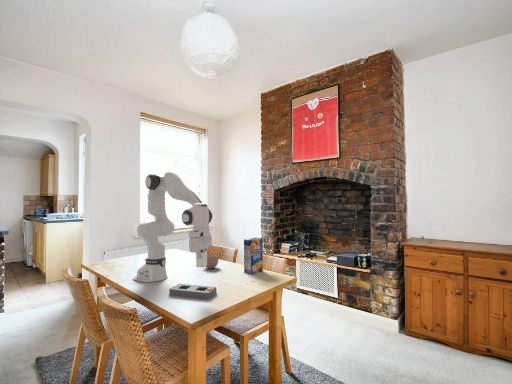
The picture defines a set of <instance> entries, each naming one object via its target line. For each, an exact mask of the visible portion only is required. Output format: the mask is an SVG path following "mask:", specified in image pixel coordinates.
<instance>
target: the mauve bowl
mask: <svg viewBox="0 0 512 384" xmlns="http://www.w3.org/2000/svg"><path fill="white" fill-rule="evenodd" d="M219 262H220V260H219V258H218V257H217V256H213V255H212V253H211V252H210V253H207V266H206V267H205V268H206V269H214V268H216V267H217V266H218V264H219Z"/></svg>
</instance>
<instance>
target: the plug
mask: <svg viewBox="0 0 512 384" xmlns="http://www.w3.org/2000/svg"><path fill="white" fill-rule="evenodd" d="M200 255H201V258H200V259H198V258H197V254H196V253H195V267H196V268H206V266H207V256H208V250H207V251H203V249H202V250H200Z"/></svg>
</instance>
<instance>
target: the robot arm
mask: <svg viewBox="0 0 512 384" xmlns="http://www.w3.org/2000/svg"><path fill="white" fill-rule="evenodd" d="M145 186H146V188H147V189H148V194H147V212H148V214H149V215H151V216H152V217H154V221H152V220H151V221H146V222H142V223H139V224H138V226H137V228H136V233H137V235H138V237H139V238H140V239H142V240H143V241H144V243H145V245H146V248H147V258H145V259H144V262H145V264H143V265H142V266H141V267H139V268H138V269H137V272H136V276H134V277H132V280H133V281H138V282H143V283H147V284H148V283H152V282H153V283H154V282H160V281H163V280H166V279H168V274H167V270H166V269H167V268H166V262H167V258H166V246H165V244H163V243H162V242H160V241H159V239H158V238H161V237H167V236H170V235H172V234H173V233H174V231H175V224H174V222H173V221H172V220H170V219H169V217H168V215H167V212H166V192H167V194H168V195H169V197H171V198H172V199H174V200H176V201H182V202H186V203H188V204H190V205H191V207H189V208H187V209H184V211H183V212H182V213H181V221H182V223H183V224H184V225H186V226H189V227H190V226H193V227H192V230H191V231H190V232H189V233H188V238H189V240H188V243H189V244H188V249H189V251H190V252H191V253H195V255H196V254H197V258H198V259H200V258H201V255H200V250H202V249H203V251H207V252H208V248H210V247H212V245H213V241H212V240H213V239H212V238H213V237H212V234H211V232H210V223H211V222H212V220H213V212H212V211H211V209H209V207H208V204H207V203H204V202H202V200H201V199H200V197H198V195H197V194H196V193H195V192H194V191H193V190H191V189H189V188H188V187H187V185H186V184H185V183H184V182H183V180H182V178H181V177H180V176H179V175H178V174H177V173H176V172H175V171H172V170H171V171H168V172H165V173H151V174H148V175H147V176H146V178H145Z"/></svg>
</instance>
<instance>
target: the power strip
mask: <svg viewBox="0 0 512 384" xmlns="http://www.w3.org/2000/svg"><path fill="white" fill-rule="evenodd" d="M168 294H169V295H168V296H171V297H178V298H179V297H180V298H190V299H196V300H210V299H211V298H213V297H214V296H215V295H216V294H217V287H216V286H209V285H208V286H207V285H200V284H199V285H197V284H187V283H186V284H185V283H177V284H176V285H174V286H172V287H171V288H169V290H168Z"/></svg>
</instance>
